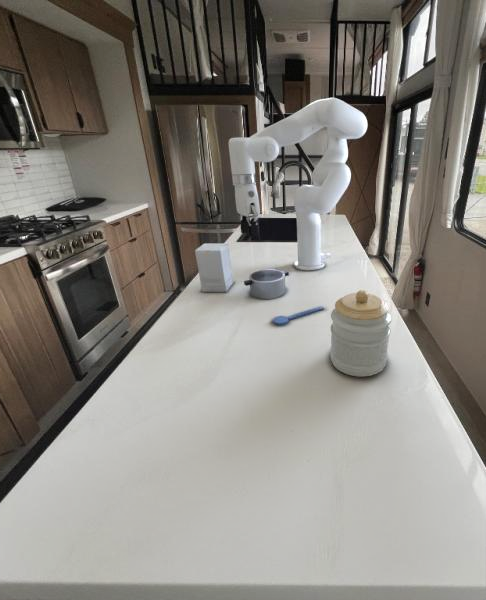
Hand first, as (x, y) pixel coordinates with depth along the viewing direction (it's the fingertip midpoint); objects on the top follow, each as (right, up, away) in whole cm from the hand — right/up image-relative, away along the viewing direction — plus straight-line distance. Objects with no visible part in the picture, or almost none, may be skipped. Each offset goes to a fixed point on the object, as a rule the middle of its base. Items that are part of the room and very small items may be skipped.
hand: (249, 234), depth 113 cm
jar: (+32, -37, -38) cm, 62 cm away
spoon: (+17, -28, -18) cm, 37 cm away
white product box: (-12, -18, +3) cm, 22 cm away
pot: (+7, -20, -2) cm, 21 cm away
